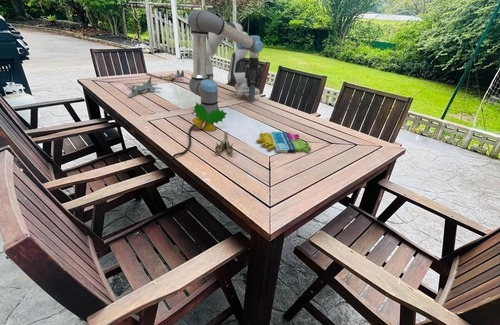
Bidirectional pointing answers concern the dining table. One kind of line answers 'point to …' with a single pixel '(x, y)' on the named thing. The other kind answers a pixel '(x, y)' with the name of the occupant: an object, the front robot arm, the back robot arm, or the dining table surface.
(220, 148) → the jawbone
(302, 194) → the dining table surface
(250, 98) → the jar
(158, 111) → the dining table surface
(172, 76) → the toy
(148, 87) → the airplane
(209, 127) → the ornament
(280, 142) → the packaged colorful gloves
